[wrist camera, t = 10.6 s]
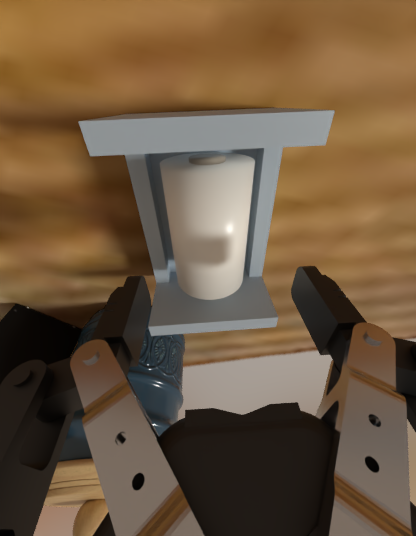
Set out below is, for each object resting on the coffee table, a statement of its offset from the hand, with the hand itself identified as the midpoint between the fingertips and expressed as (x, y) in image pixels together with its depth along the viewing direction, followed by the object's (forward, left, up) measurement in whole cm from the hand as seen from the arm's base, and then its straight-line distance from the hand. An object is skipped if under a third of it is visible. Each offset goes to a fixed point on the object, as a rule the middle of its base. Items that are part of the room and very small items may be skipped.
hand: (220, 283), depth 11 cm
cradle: (0, 0, -9) cm, 9 cm away
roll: (+2, 0, -8) cm, 8 cm away
